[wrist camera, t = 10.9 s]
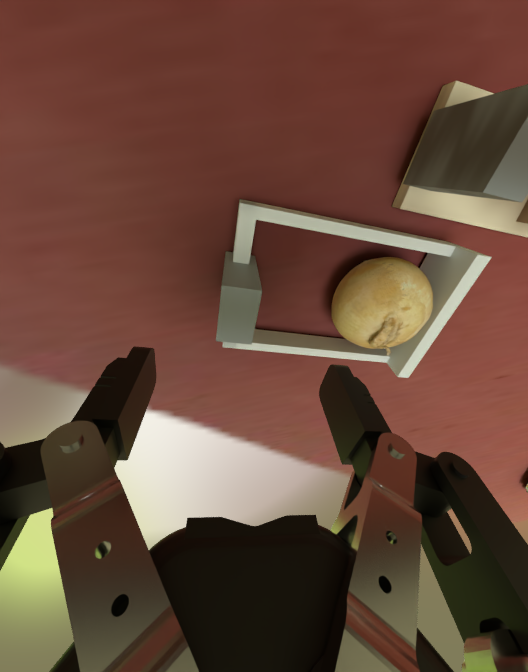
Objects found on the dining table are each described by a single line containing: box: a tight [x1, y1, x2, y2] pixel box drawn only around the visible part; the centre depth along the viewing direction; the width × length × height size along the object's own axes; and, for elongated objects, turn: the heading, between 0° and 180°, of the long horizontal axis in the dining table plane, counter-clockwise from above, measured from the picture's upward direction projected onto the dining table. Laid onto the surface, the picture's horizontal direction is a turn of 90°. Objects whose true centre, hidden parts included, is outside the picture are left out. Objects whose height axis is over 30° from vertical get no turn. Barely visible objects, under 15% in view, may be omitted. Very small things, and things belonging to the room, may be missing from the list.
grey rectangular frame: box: [216, 199, 491, 378], centre depth 20 cm, size 12×19×7 cm, turn 79°
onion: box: [331, 257, 433, 356], centre depth 21 cm, size 8×8×7 cm
